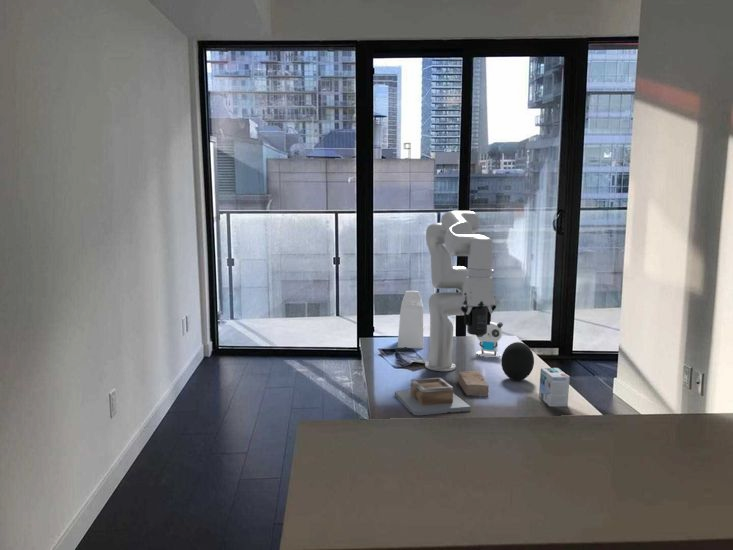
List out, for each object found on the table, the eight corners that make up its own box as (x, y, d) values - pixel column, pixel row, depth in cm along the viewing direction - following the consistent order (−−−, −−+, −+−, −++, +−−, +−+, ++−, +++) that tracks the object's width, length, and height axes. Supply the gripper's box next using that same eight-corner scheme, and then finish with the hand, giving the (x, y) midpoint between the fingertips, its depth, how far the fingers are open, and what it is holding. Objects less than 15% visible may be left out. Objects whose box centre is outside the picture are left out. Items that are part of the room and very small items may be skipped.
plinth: (410, 394, 211) (411, 379, 210) (439, 392, 214) (440, 377, 213) (422, 405, 200) (422, 389, 200) (452, 402, 204) (453, 387, 203)
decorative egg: (496, 375, 241) (498, 338, 239) (526, 374, 242) (528, 338, 240) (506, 384, 229) (508, 346, 227) (537, 384, 230) (540, 346, 228)
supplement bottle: (488, 332, 209) (489, 298, 208) (485, 336, 203) (487, 301, 201) (468, 330, 211) (469, 296, 210) (465, 334, 205) (467, 299, 203)
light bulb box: (538, 396, 217) (540, 367, 215) (556, 396, 217) (558, 367, 216) (549, 406, 206) (551, 376, 205) (568, 406, 207) (570, 376, 205)
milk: (423, 342, 292) (425, 289, 288) (423, 348, 280) (425, 293, 277) (398, 341, 293) (400, 288, 289) (397, 347, 281) (399, 292, 278)
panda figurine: (472, 355, 270) (473, 322, 268) (478, 349, 280) (479, 318, 278) (498, 358, 265) (500, 325, 263) (503, 352, 275) (505, 320, 273)
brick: (489, 396, 216) (489, 384, 215) (466, 396, 216) (466, 383, 215) (478, 382, 233) (479, 370, 232) (457, 382, 232) (457, 370, 232)
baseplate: (394, 395, 214) (394, 391, 214) (446, 391, 220) (446, 387, 220) (414, 415, 195) (414, 411, 195) (470, 410, 201) (470, 406, 201)
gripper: (496, 271, 210) (494, 321, 213) (451, 272, 205) (449, 323, 208) (507, 274, 203) (505, 325, 206) (461, 275, 198) (459, 328, 200)
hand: (477, 324), depth 207 cm, fingers closed on supplement bottle, 6 cm apart
